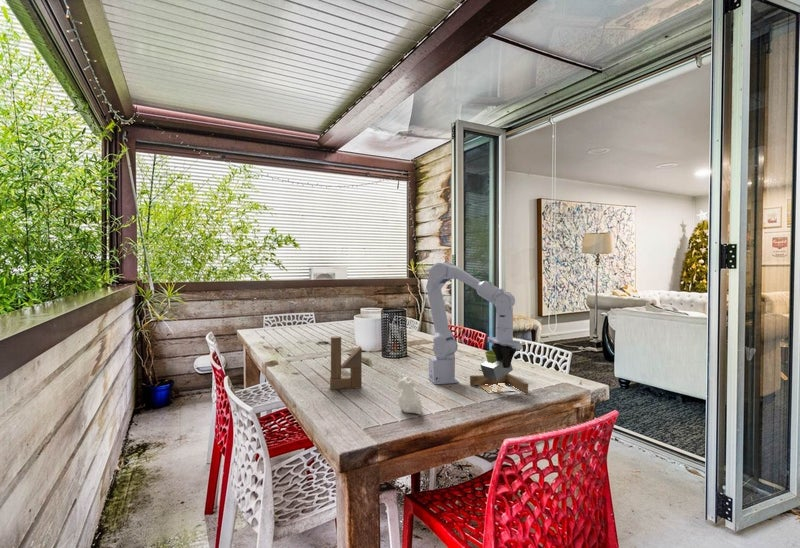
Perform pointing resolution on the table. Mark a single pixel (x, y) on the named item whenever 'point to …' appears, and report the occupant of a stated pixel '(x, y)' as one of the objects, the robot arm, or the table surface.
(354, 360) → the brown angular piece
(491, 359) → the plant pot
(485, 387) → the pad
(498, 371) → the bracket
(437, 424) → the table surface
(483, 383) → the walls
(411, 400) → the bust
